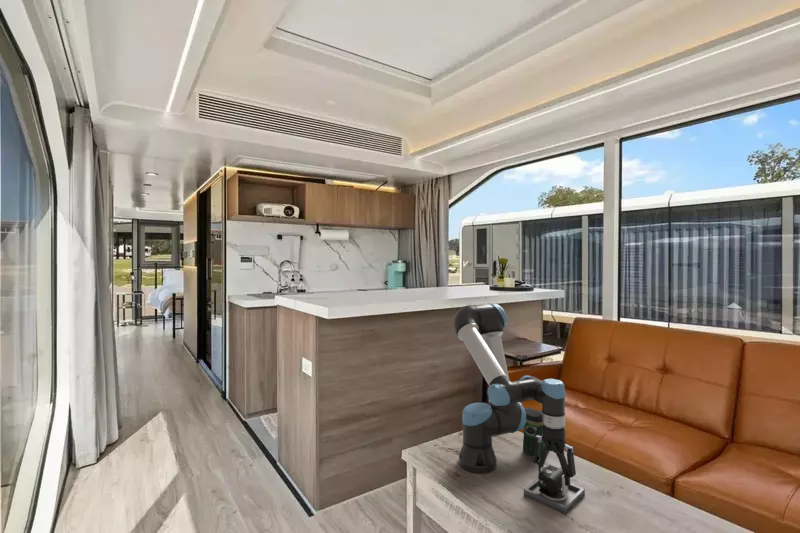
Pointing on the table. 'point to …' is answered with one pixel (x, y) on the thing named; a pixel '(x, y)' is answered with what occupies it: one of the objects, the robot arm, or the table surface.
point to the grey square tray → (555, 496)
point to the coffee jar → (532, 430)
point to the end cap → (551, 481)
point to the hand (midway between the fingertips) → (554, 488)
